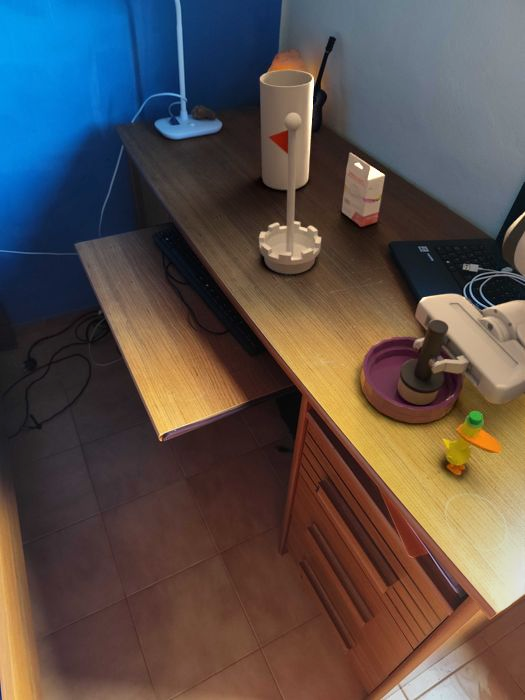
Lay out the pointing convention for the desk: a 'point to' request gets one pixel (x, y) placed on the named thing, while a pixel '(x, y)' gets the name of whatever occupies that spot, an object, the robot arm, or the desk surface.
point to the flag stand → (289, 218)
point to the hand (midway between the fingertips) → (423, 356)
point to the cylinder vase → (276, 103)
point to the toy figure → (469, 442)
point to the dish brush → (424, 368)
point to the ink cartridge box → (362, 191)
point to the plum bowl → (384, 378)
